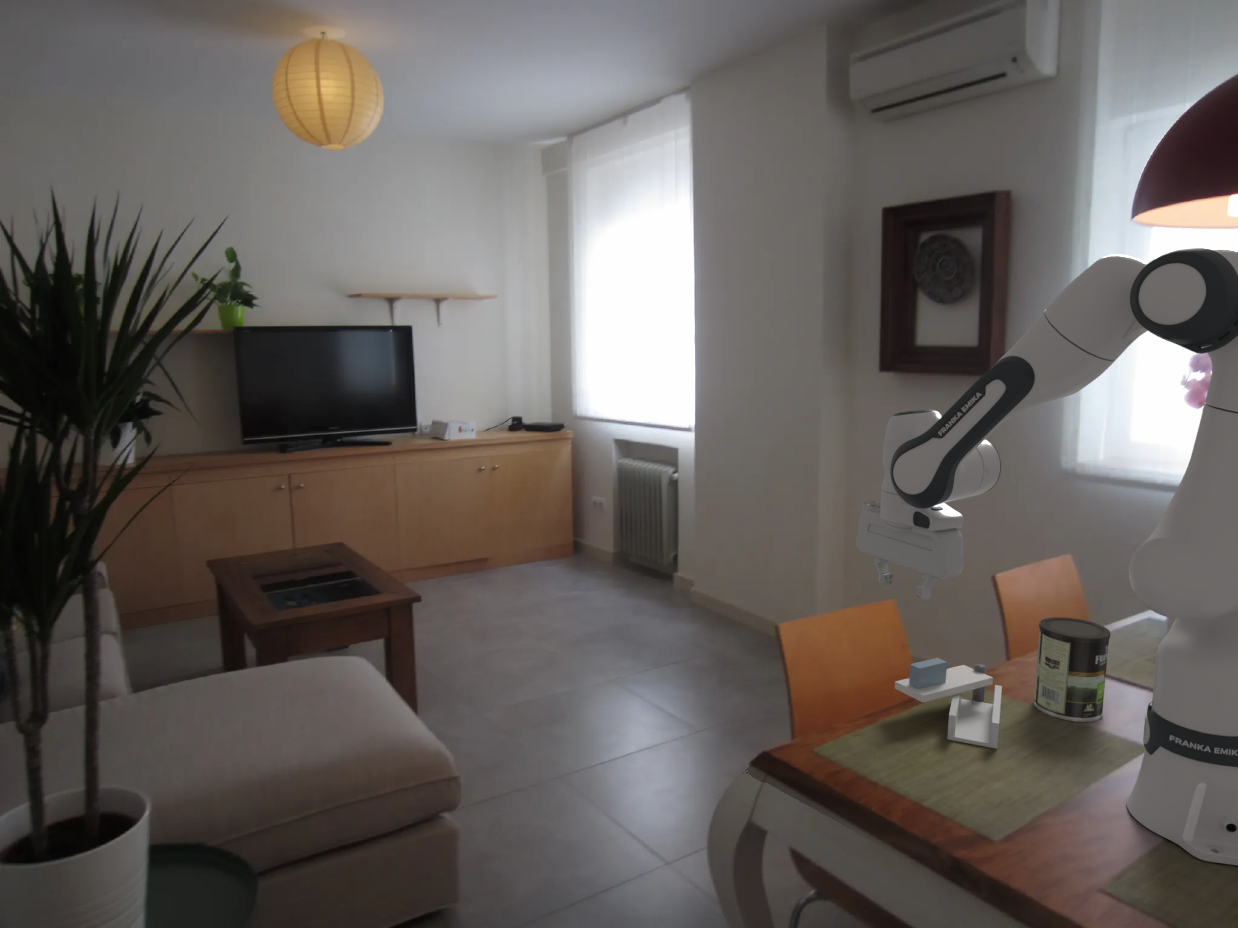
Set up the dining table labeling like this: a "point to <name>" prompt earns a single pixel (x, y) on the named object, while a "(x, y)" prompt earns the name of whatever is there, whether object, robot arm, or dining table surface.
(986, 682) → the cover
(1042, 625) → the coffee can
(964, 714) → the duct
